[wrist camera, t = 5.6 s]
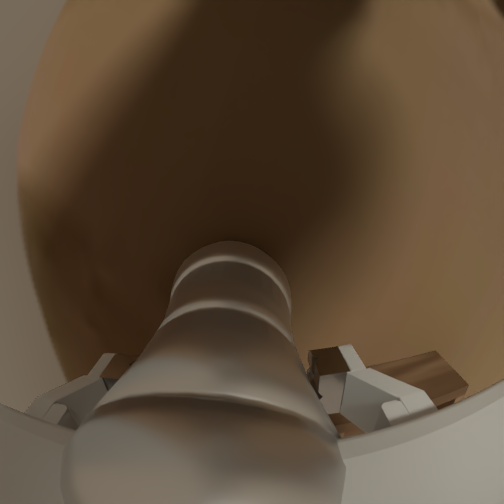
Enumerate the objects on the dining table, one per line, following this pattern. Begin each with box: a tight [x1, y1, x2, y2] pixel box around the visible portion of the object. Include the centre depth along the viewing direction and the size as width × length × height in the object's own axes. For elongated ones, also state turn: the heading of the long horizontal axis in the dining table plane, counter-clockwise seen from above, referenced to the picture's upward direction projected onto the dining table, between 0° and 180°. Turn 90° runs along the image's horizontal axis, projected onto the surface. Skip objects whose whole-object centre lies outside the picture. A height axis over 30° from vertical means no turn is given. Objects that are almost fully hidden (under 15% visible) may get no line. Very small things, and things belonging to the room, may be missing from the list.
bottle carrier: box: [328, 351, 469, 438], centre depth 19 cm, size 12×22×6 cm, turn 93°
